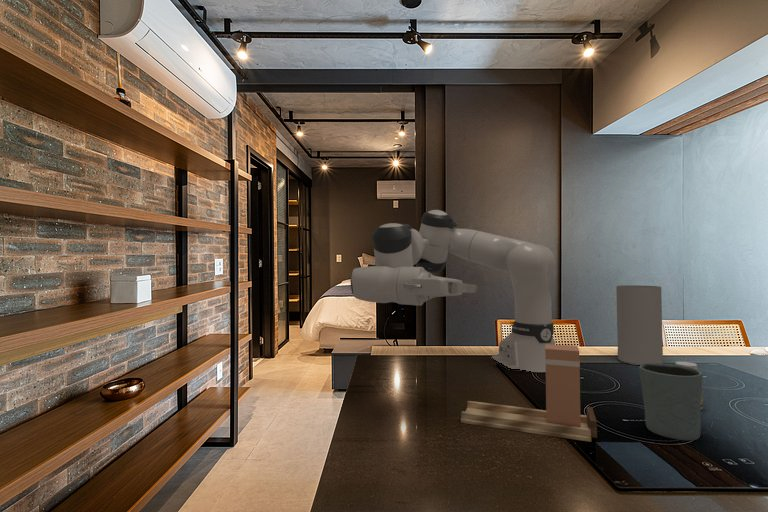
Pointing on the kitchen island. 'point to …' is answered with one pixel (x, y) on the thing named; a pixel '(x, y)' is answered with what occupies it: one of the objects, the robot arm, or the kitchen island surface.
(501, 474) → the kitchen island surface
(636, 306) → the cylinder vase
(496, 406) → the chute
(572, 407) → the block
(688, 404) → the green cup
